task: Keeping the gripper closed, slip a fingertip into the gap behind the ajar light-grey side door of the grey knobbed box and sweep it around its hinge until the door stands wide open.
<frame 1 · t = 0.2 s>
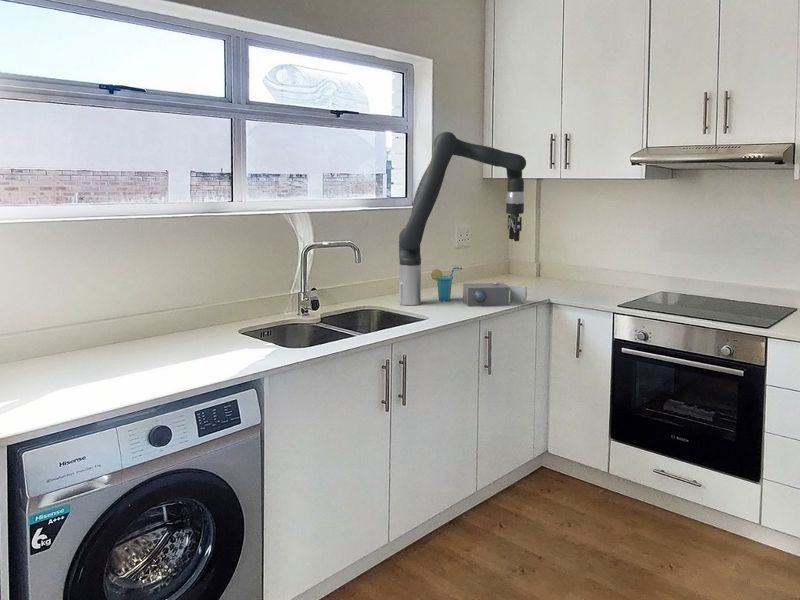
hand: (514, 240, 297), 27 cm above the worktop, fingers open, 8 cm apart
side door: (514, 293, 302), point 4 cm above the worktop, hinge at 40.0°
grey knobbed box: (485, 303, 300), on the worktop
cup: (446, 300, 307), on the worktop
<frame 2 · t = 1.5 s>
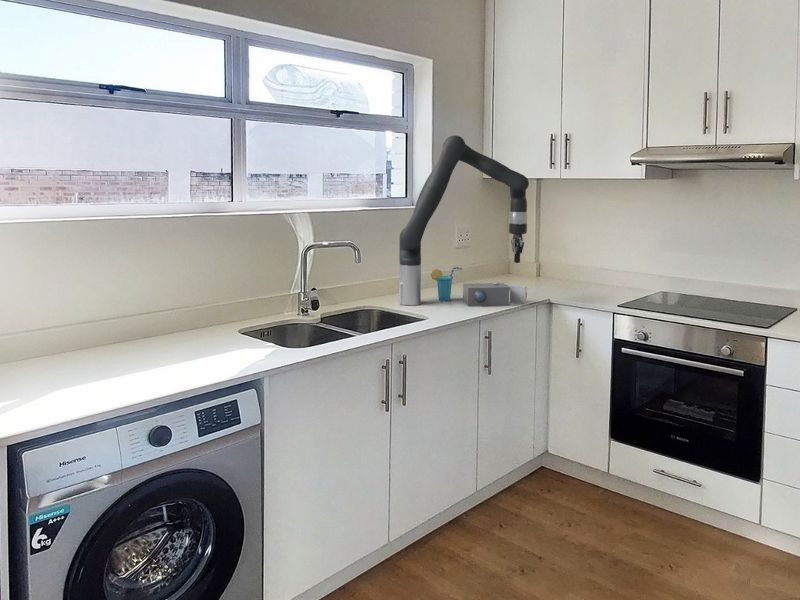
hand: (516, 262, 296), 18 cm above the worktop, fingers closed
nothing on the worktop moved.
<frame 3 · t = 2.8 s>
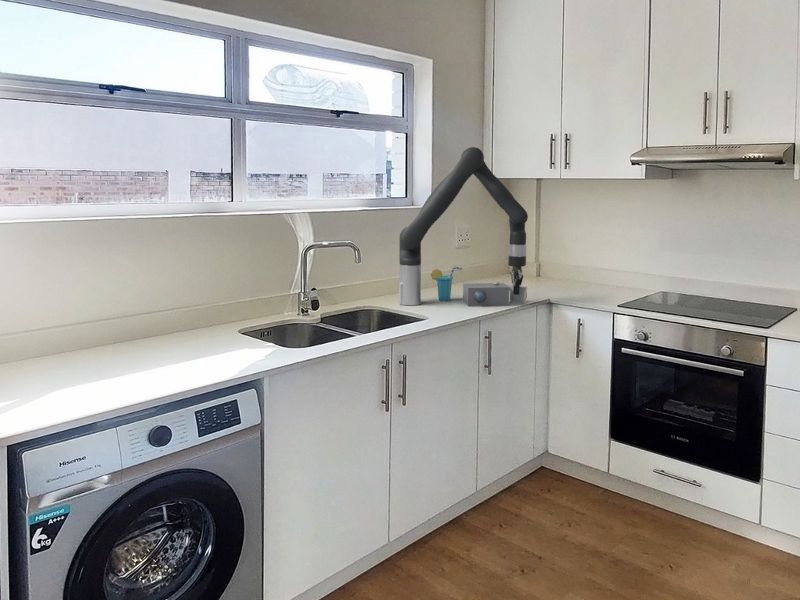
hand: (516, 294, 298), 4 cm above the worktop, fingers closed
side door: (514, 293, 302), point 4 cm above the worktop, hinge at 40.0°, touching gripper
everything else where it was.
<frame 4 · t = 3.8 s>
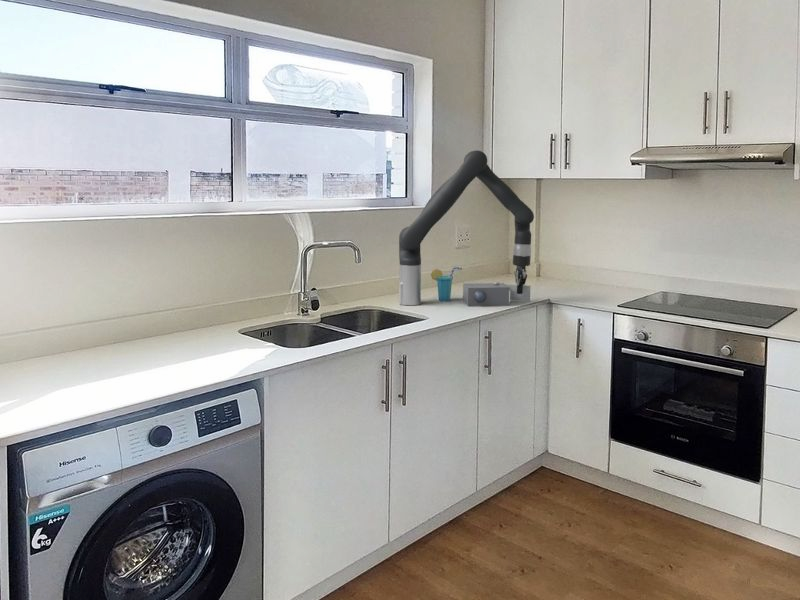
hand: (519, 293, 300), 4 cm above the worktop, fingers closed
side door: (516, 292, 304), point 4 cm above the worktop, hinge at 64.0°, touching gripper
everything else where it was.
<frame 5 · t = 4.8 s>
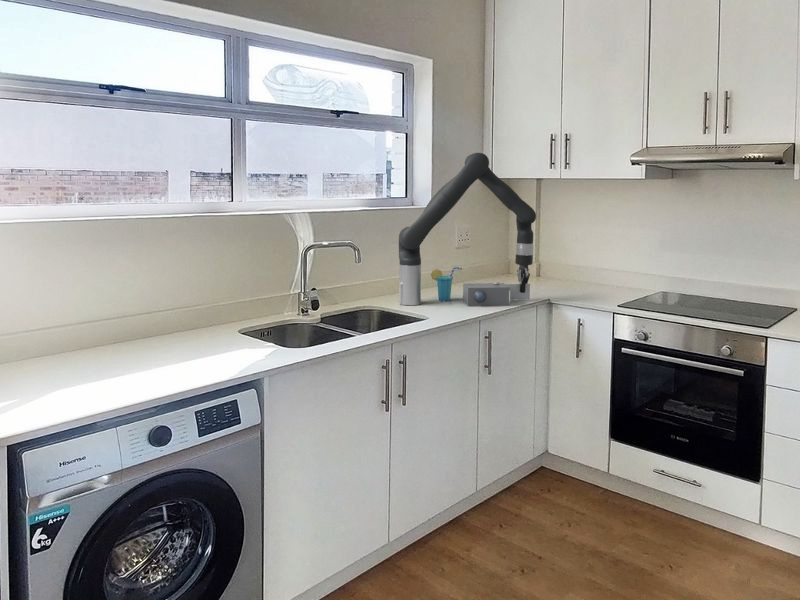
hand: (522, 292, 304), 4 cm above the worktop, fingers closed
side door: (516, 291, 307), point 4 cm above the worktop, hinge at 91.6°, touching gripper
everything else where it was.
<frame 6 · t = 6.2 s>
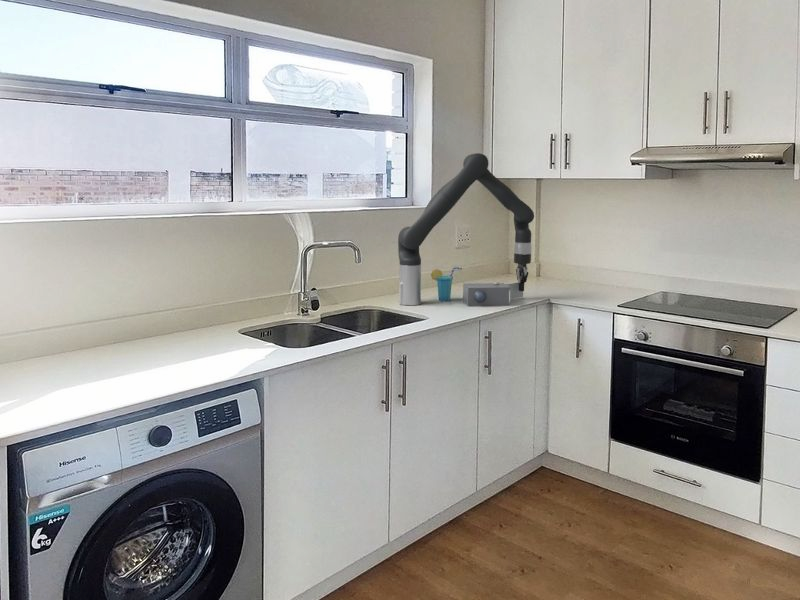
hand: (521, 291, 308), 4 cm above the worktop, fingers closed
side door: (512, 290, 309), point 4 cm above the worktop, hinge at 120.9°, touching gripper
everything else where it was.
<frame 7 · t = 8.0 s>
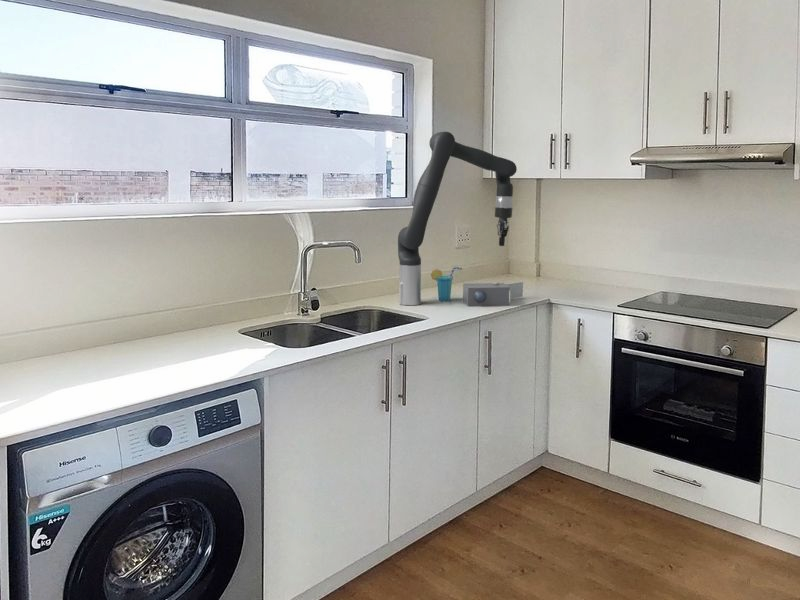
hand: (501, 245, 306), 24 cm above the worktop, fingers closed
side door: (512, 290, 309), point 4 cm above the worktop, hinge at 122.3°
everything else where it was.
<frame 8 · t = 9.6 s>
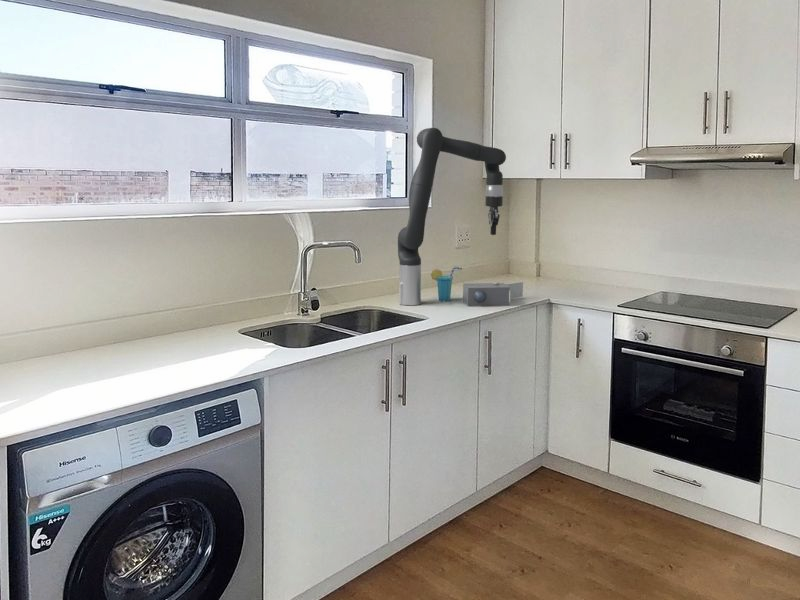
hand: (493, 234, 306), 29 cm above the worktop, fingers closed
nothing on the worktop moved.
at the end: side door at +122° (first picture: +40°) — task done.
